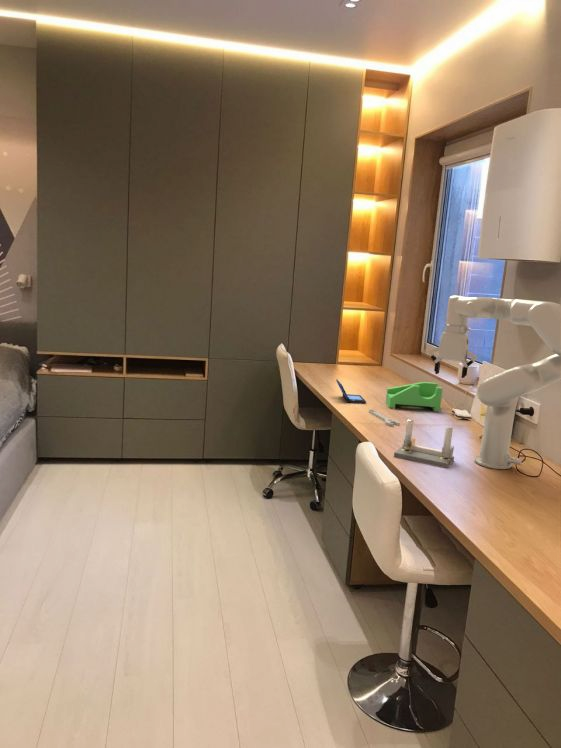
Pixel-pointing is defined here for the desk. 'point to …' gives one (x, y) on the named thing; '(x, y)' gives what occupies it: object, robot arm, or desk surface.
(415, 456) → the board
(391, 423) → the adjustable wrench
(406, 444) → the post
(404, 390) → the ramp block with notch
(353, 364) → the desk surface
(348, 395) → the handheld game console
